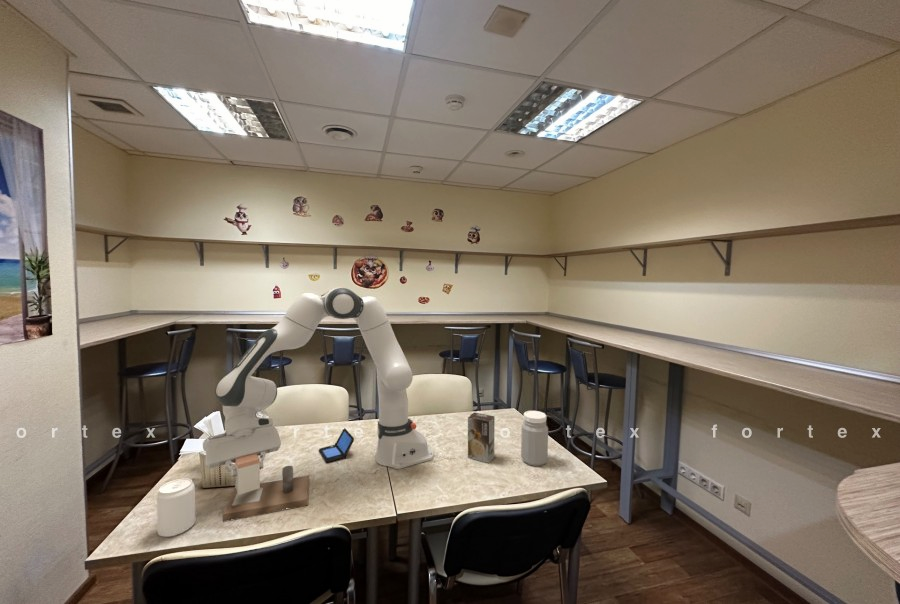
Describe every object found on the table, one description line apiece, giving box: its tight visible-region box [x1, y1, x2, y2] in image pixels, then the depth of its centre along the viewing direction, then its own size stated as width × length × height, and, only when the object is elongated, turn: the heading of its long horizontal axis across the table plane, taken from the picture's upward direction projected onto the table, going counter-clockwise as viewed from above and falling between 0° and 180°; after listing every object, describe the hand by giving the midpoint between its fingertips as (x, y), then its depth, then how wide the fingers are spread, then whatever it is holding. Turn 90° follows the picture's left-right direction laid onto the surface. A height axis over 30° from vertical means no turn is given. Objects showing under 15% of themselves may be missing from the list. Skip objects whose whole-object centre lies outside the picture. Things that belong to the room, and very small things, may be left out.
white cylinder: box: [156, 477, 196, 537], centre depth 96 cm, size 8×8×12 cm
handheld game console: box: [318, 428, 355, 464], centre depth 139 cm, size 12×11×7 cm
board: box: [222, 465, 310, 522], centre depth 109 cm, size 22×14×9 cm, turn 110°
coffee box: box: [467, 412, 495, 464], centre depth 136 cm, size 9×6×16 cm
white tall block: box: [234, 453, 261, 495], centre depth 106 cm, size 6×6×9 cm
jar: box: [520, 410, 549, 467], centre depth 134 cm, size 10×10×18 cm
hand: (247, 472), depth 106 cm, fingers closed on white tall block, 6 cm apart
